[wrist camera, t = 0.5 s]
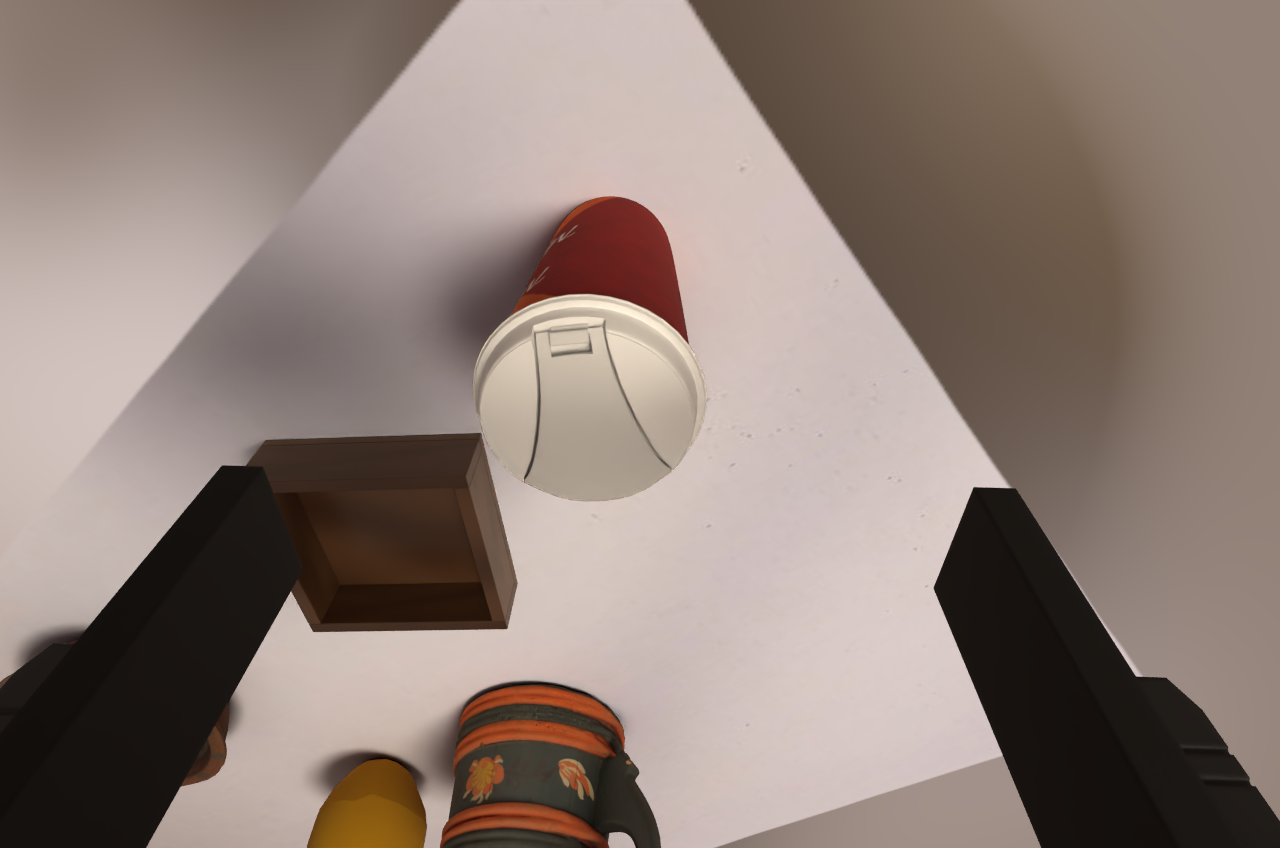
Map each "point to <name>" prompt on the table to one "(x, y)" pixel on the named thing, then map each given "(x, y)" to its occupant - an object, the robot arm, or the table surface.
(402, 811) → the apple
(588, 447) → the coffee cup
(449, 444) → the square wooden tray
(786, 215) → the table surface
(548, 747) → the beer stein
